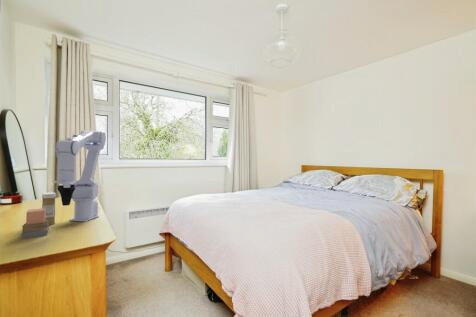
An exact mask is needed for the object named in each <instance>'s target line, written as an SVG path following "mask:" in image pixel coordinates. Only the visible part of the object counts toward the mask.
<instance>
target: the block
mask: <svg viewBox="0 0 476 317" xmlns="http://www.w3.org/2000/svg"><path fill="white" fill-rule="evenodd" d="M25 213H26V217H25V218H26V221H25V223H26V225H28V224H37V223H44V222H45V214H46V208H43V209H42V208H35V209H34V208H33V209H32V208H31V209H28V210H27V211H26V212H25Z"/></svg>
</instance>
